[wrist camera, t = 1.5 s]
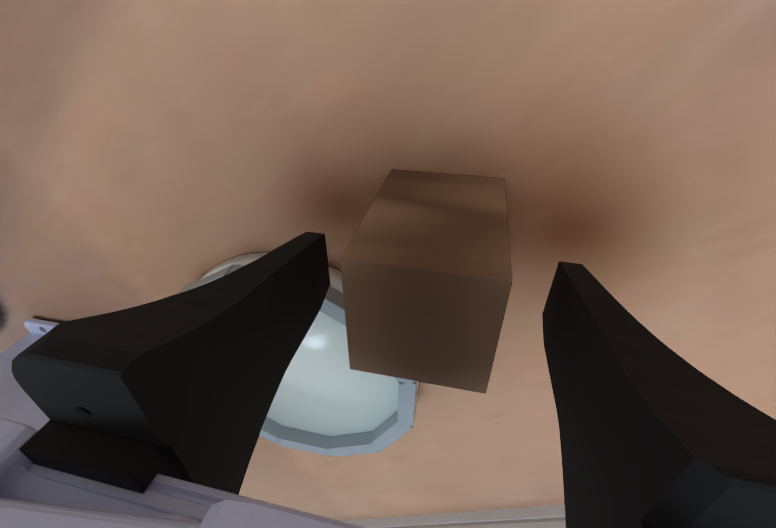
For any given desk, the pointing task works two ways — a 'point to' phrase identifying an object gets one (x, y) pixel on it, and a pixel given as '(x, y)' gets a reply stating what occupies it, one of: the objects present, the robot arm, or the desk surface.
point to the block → (429, 279)
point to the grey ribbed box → (475, 519)
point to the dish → (330, 387)
